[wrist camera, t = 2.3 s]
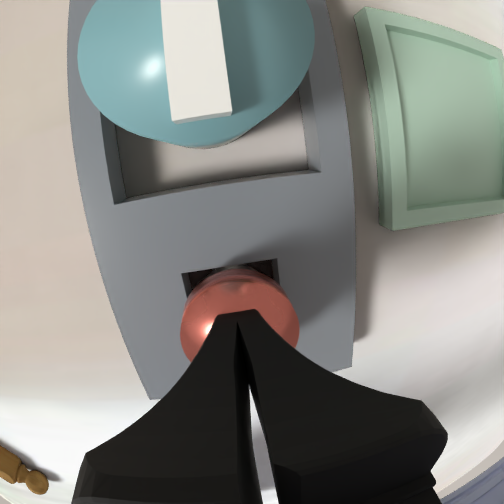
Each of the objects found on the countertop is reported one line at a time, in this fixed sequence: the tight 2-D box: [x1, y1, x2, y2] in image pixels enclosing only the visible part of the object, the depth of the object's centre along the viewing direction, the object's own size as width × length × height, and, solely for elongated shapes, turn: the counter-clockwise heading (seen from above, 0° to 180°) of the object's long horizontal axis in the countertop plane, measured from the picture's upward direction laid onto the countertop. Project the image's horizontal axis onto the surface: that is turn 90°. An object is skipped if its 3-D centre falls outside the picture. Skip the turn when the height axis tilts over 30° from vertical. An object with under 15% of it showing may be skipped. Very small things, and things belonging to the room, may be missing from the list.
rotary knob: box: [77, 0, 315, 149], centre depth 7 cm, size 5×5×7 cm
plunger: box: [180, 264, 300, 362], centre depth 11 cm, size 4×4×3 cm
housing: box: [67, 0, 356, 400], centre depth 11 cm, size 20×10×2 cm, turn 7°
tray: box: [354, 7, 504, 231], centre depth 11 cm, size 10×10×1 cm
